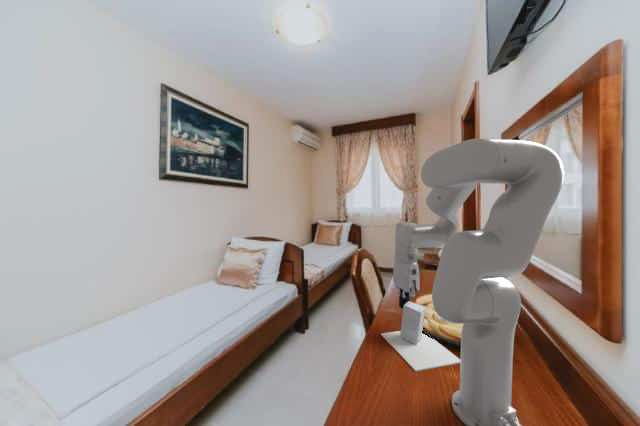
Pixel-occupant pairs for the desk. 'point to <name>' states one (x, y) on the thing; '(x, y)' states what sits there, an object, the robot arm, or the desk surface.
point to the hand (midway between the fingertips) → (404, 307)
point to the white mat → (421, 352)
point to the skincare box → (412, 322)
